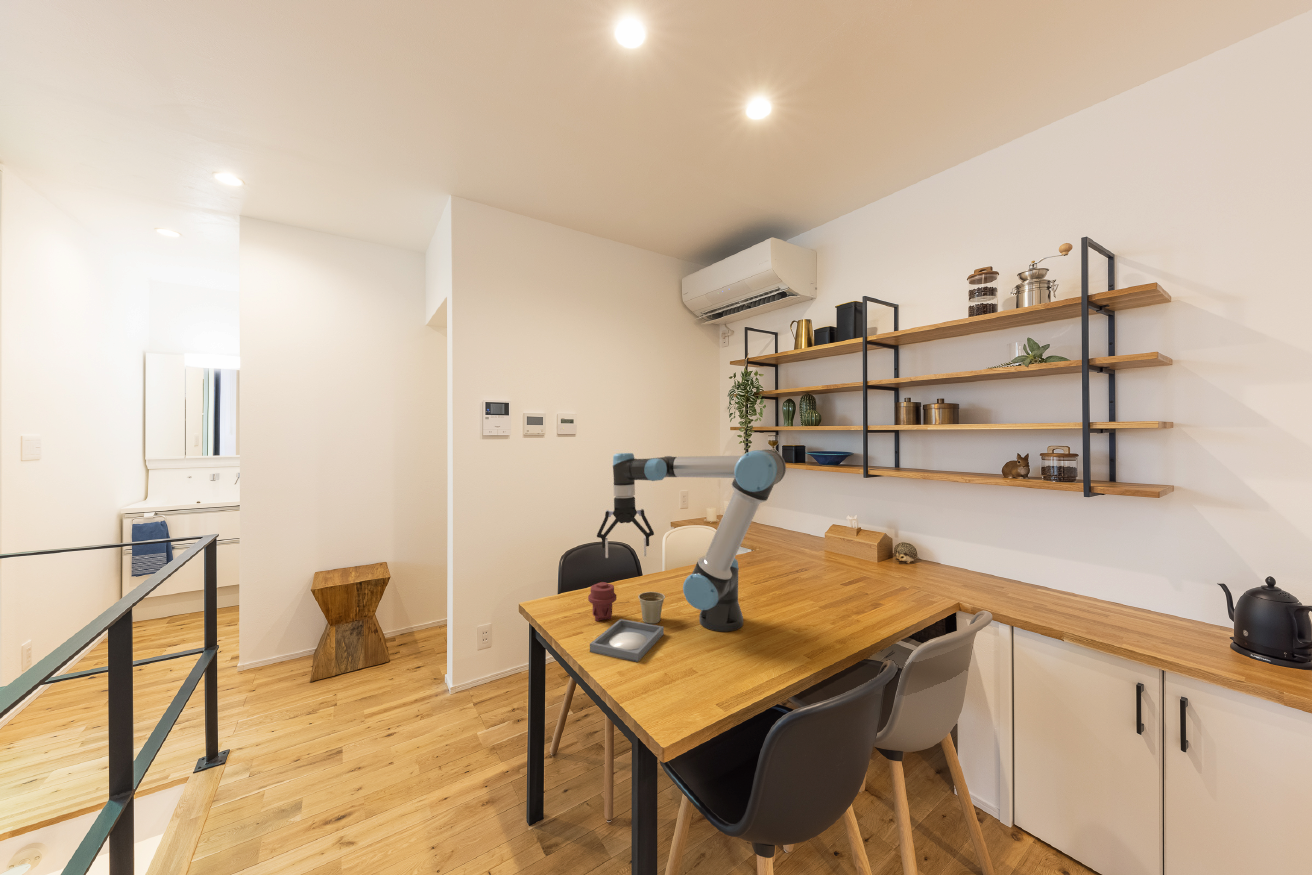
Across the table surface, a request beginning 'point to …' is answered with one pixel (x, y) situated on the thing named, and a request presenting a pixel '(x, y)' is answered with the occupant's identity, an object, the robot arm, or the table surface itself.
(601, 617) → the mechanical component
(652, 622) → the flower pot
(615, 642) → the housing tray
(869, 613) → the table surface
